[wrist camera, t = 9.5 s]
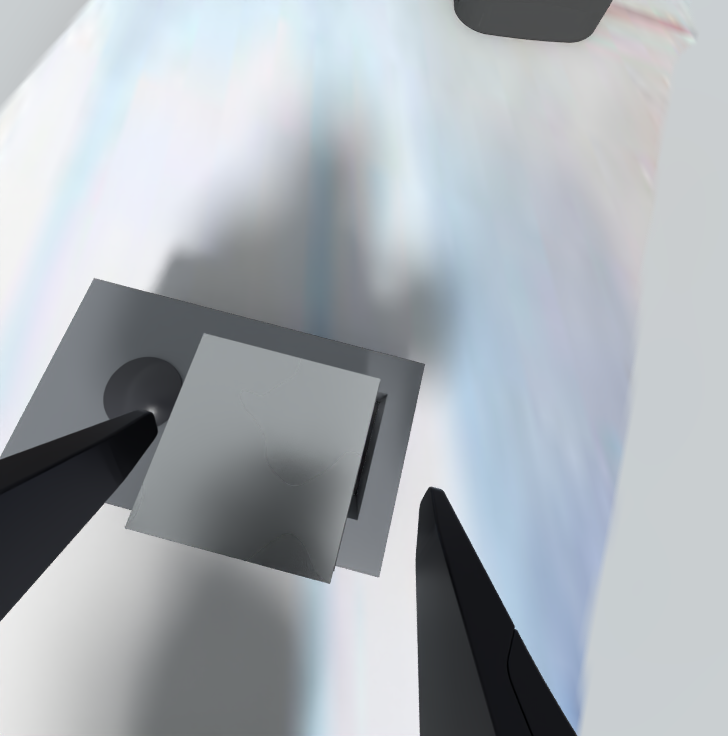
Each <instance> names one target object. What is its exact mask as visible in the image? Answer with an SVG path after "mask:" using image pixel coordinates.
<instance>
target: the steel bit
mask: <svg viewBox="0 0 728 736" xmlns="http://www.w3.org/2000/svg"><path fill="white" fill-rule="evenodd" d="M379 386H380V379H379V378H375V377H371V376H367V375H363V374H360V373H356V372H352V371H348V370H344V369H340V368H336V367H333V366H329V365H325V364H321V363H317V362H313V361H309V360H306V359H302V358H298V357H294V356H290V355H286V354H282V353H279V352H275V351H271V350H267V349H263V348H259V347H255V346H252V345H248V344H244V343H240V342H236V341H232V340H229V339H225V338H221V337H217V336H213V335H209V334H205V333H204V334H203V336H202V339H201V341H200V344H199V346H198V349H197V351H196V353H195V356H194V358H193V361H192V363H191V366H190V368H189V371H188V373H187V376H186V378H185V381H184V383H183V385H182V388H181V390H180V393H179V395H178V398H177V400H176V403H175V405H174V408H173V410H172V413H171V415H170V417H169V420H168V422H167V425H166V427H165V430H164V432H163V435H162V437H161V440H160V442H159V445H158V447H157V449H156V452H155V454H154V457H153V459H152V462H151V464H150V467H149V469H148V472H147V474H146V477H145V479H144V482H143V484H142V486H141V489H140V491H139V494H138V496H137V499H136V501H135V504H134V506H133V509H132V511H131V514H130V516H129V518H128V521H127V523H126V526H125V528H126V529H130V530H133V531H137V532H141V533H145V534H148V535H152V536H156V537H159V538H163V539H167V540H170V541H174V542H178V543H181V544H185V545H189V546H192V547H196V548H200V549H203V550H207V551H211V552H215V553H218V554H222V555H226V556H229V557H233V558H237V559H240V560H244V561H248V562H251V563H255V564H259V565H262V566H266V567H270V568H273V569H277V570H281V571H285V572H288V573H292V574H296V575H299V576H303V577H307V578H310V579H314V580H318V581H321V582H325V583H329V584H330V582H331V578H332V574H333V571H334V569H335V565H336V561H337V557H338V553H339V549H340V545H341V541H342V537H343V533H344V529H345V524H346V520H347V516H348V512H349V508H350V504H351V500H352V496H353V492H354V488H355V484H356V480H357V476H358V472H359V468H360V464H361V459H362V455H363V451H364V447H365V443H366V439H367V435H368V431H369V427H370V423H371V419H372V415H373V411H374V407H375V403H376V399H377V394H378V390H379Z"/></svg>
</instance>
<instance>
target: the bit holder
mask: <svg viewBox="0 0 728 736" xmlns="http://www.w3.org/2000/svg"><path fill="white" fill-rule="evenodd" d="M204 333H205V334H209V335H213V336H217V337H221V338H225V339H229V340H232V341H236V342H240V343H244V344H248V345H252V346H255V347H259V348H263V349H267V350H271V351H275V352H279V353H282V354H286V355H290V356H294V357H298V358H302V359H306V360H309V361H313V362H317V363H321V364H325V365H329V366H333V367H336V368H340V369H344V370H348V371H352V372H356V373H360V374H363V375H367V376H371V377H375V378H379V379H380V386H379V390H378V394H377V399H376V402H377V403H379V404H378V408H377V412H376V416H375V421H374V425H373V429H372V433H371V437H370V441H369V445H368V449H367V453H366V457H365V461H364V465H363V469H362V474H361V478H360V482H359V486H358V490H357V494H356V495H354V494H353V496H352V500H351V504H350V508H349V512H348V516H347V520H346V524H345V529H344V533H343V537H342V541H341V545H340V549H339V553H338V557H337V561H336V565H335V566H338V567H342V568H346V569H349V570H353V571H357V572H360V573H364V574H368V575H371V576H375V577H379V575H380V571H381V566H382V561H383V557H384V552H385V547H386V543H387V538H388V533H389V529H390V524H391V519H392V515H393V510H394V505H395V501H396V496H397V492H398V487H399V482H400V478H401V473H402V468H403V464H404V459H405V454H406V450H407V445H408V440H409V436H410V431H411V426H412V422H413V417H414V412H415V408H416V403H417V399H418V394H419V389H420V385H421V380H422V375H423V371H424V366H425V364H423V363H419V362H415V361H411V360H407V359H403V358H399V357H396V356H392V355H388V354H384V353H380V352H376V351H373V350H369V349H365V348H361V347H357V346H353V345H349V344H346V343H342V342H338V341H334V340H330V339H326V338H322V337H319V336H315V335H311V334H307V333H303V332H299V331H296V330H292V329H288V328H284V327H280V326H276V325H272V324H269V323H265V322H261V321H257V320H253V319H249V318H245V317H242V316H238V315H234V314H230V313H226V312H222V311H219V310H215V309H211V308H207V307H203V306H199V305H195V304H192V303H188V302H184V301H180V300H176V299H172V298H169V297H165V296H161V295H157V294H153V293H149V292H145V291H142V290H138V289H134V288H130V287H126V286H122V285H118V284H115V283H111V282H107V281H103V280H99V279H95V278H94V279H93V281H92V283H91V285H90V287H89V289H88V291H87V293H86V295H85V297H84V299H83V300H82V302H81V304H80V306H79V308H78V310H77V312H76V314H75V316H74V318H73V319H72V321H71V323H70V325H69V327H68V329H67V331H66V333H65V335H64V337H63V338H62V340H61V342H60V344H59V346H58V348H57V350H56V352H55V354H54V356H53V358H52V359H51V361H50V363H49V365H48V367H47V369H46V371H45V373H44V375H43V377H42V378H41V380H40V382H39V384H38V386H37V388H36V390H35V392H34V394H33V396H32V397H31V399H30V401H29V403H28V405H27V407H26V409H25V411H24V413H23V415H22V417H21V418H20V420H19V422H18V424H17V426H16V428H15V430H14V432H13V434H12V436H11V437H10V439H9V441H8V443H7V445H6V447H5V449H4V451H3V453H2V455H1V456H0V459H2V458H5V457H8V456H11V455H13V454H16V453H19V452H22V451H24V450H27V449H30V448H33V447H35V446H38V445H41V444H44V443H46V442H49V441H52V440H55V439H57V438H60V437H63V436H66V435H68V434H71V433H74V432H77V431H79V430H82V429H85V428H88V427H90V426H93V425H96V424H99V423H101V422H104V421H107V420H109V419H112V418H115V417H118V416H120V415H123V414H126V413H129V412H131V411H134V410H138V409H141V410H146V411H149V412H152V413H153V414H154V416H155V420H156V424H157V427H158V434H157V436H156V438H155V439H154V441H153V442H152V444H151V445H150V446H149V448H148V449H147V450H146V452H145V453H144V455H143V456H142V457H141V459H140V460H139V461H138V463H137V464H136V465H135V467H134V468H133V470H132V471H131V472H130V474H129V475H128V476H127V478H126V479H125V480H124V481H123V483H122V484H121V485H120V486H119V487H118V488H117V490H116V491H115V492H114V493H113V494H112V495H111V496H110V498H109V499H108V500H107V501H106V502H105V503H107V504H111V505H115V506H118V507H122V508H126V509H129V510H132V509H133V506H134V504H135V501H136V499H137V496H138V494H139V491H140V489H141V486H142V484H143V482H144V479H145V477H146V474H147V472H148V469H149V467H150V464H151V462H152V459H153V457H154V454H155V452H156V449H157V447H158V445H159V442H160V440H161V437H162V435H163V432H164V430H165V427H166V425H167V422H168V420H169V417H170V415H171V413H172V410H173V408H174V405H175V403H176V400H177V398H178V395H179V393H180V390H181V388H182V385H183V383H184V381H185V378H186V376H187V373H188V371H189V368H190V366H191V363H192V361H193V358H194V356H195V353H196V351H197V349H198V346H199V344H200V341H201V339H202V336H203V334H204Z"/></svg>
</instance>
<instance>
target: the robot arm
mask: <svg viewBox="0 0 728 736" xmlns="http://www.w3.org/2000/svg"><path fill="white" fill-rule="evenodd" d="M157 434H158V427H157V424H156V420H155V416H154V414H153V413H152V412H149V411H146V410H141V409H138V410H134V411H131V412H129V413H126V414H123V415H120V416H118V417H115V418H112V419H109V420H107V421H104V422H101V423H99V424H96V425H93V426H90V427H88V428H85V429H82V430H79V431H77V432H74V433H71V434H68V435H66V436H63V437H60V438H57V439H55V440H52V441H49V442H46V443H44V444H41V445H38V446H35V447H33V448H30V449H27V450H24V451H22V452H19V453H16V454H13V455H11V456H8V457H5V458H2V459H0V621H1V620H2V619H3V618H4V617H5V616H6V614H7V613H8V612H9V611H10V610H11V609H12V608H13V606H14V605H15V604H16V603H17V602H18V601H19V600H20V599H21V597H22V596H23V595H24V594H25V593H26V592H27V591H28V589H29V588H30V587H31V586H32V585H33V584H34V583H35V581H36V580H37V579H38V578H39V577H40V576H41V575H42V574H43V572H44V571H45V570H46V569H47V568H48V567H49V566H50V564H51V563H52V562H53V561H54V560H55V559H56V558H57V557H58V555H59V554H60V553H61V552H62V551H63V550H64V549H65V547H66V546H67V545H68V544H69V543H70V542H71V541H72V540H73V538H74V537H75V536H76V535H77V534H78V533H79V532H80V530H81V529H82V528H83V527H84V526H85V525H86V524H87V522H88V521H89V520H90V519H91V518H92V517H93V516H94V515H95V513H96V512H97V511H98V510H99V509H100V508H101V507H102V505H103V504H104V503H105V502H106V501H107V500H108V499H109V498H110V496H111V495H112V494H113V493H114V492H115V491H116V490H117V488H118V487H119V486H120V485H121V484H122V483H123V481H124V480H125V479H126V478H127V476H128V475H129V474H130V472H131V471H132V470H133V468H134V467H135V465H136V464H137V463H138V461H139V460H140V459H141V457H142V456H143V455H144V453H145V452H146V450H147V449H148V448H149V446H150V445H151V444H152V442H153V441H154V439H155V438H156V436H157ZM416 601H417V641H418V680H419V720H420V736H577V735H576V733H575V731H574V730H573V728H572V726H571V725H570V723H569V721H568V720H567V718H566V716H565V715H564V713H563V711H562V710H561V708H560V706H559V705H558V703H557V701H556V700H555V698H554V696H553V694H552V693H551V691H550V689H549V688H548V686H547V684H546V683H545V681H544V679H543V677H542V675H541V674H540V672H539V670H538V668H537V666H536V665H535V663H534V661H533V659H532V657H531V655H530V654H529V652H528V650H527V648H526V646H525V644H524V642H523V640H522V639H521V637H520V635H519V633H518V631H517V630H516V629H514V628H515V626H514V624H513V622H512V620H511V618H510V616H509V614H508V612H507V610H506V608H505V607H504V605H503V603H502V601H501V599H500V597H499V595H498V593H497V591H496V590H495V588H494V586H493V584H492V582H491V580H490V578H489V576H488V574H487V572H486V571H485V569H484V567H483V565H482V563H481V561H480V559H479V557H478V555H477V553H476V552H475V550H474V548H473V546H472V544H471V542H470V540H469V538H468V536H467V535H466V533H465V531H464V529H463V527H462V525H461V523H460V521H459V519H458V517H457V516H456V514H455V512H454V510H453V508H452V506H451V504H450V502H449V500H448V498H447V497H446V495H445V493H444V491H443V490H441V489H438V488H435V487H429V488H428V490H427V491H426V493H425V495H424V497H423V499H422V501H421V503H420V509H419V521H418V534H417V547H416Z"/></svg>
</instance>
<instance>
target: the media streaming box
mask: <svg viewBox="0 0 728 736" xmlns="http://www.w3.org/2000/svg"><path fill="white" fill-rule="evenodd" d="M611 2H612V0H454V7H455V12H456V14H457V16H458V17H459V18H460V20H461V21H462V22H463V23H465V24H466V25H467V26H469V27H470V28H472V29H474V30H476V31H478V32H481V33H485V34H491V35H498V36H506V37H514V38H523V39H533V40H544V41H558V42H577V41H581V40H583V39H586V38H587V37H589V36H590V35H591V34H592V33H593V32H594V30H595V29H596V27H597V25H598V24H599V22H600V20H601V19H602V17H603V15H604V14H605V12H606V10H607V9H608V7H609V6H610V4H611Z"/></svg>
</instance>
